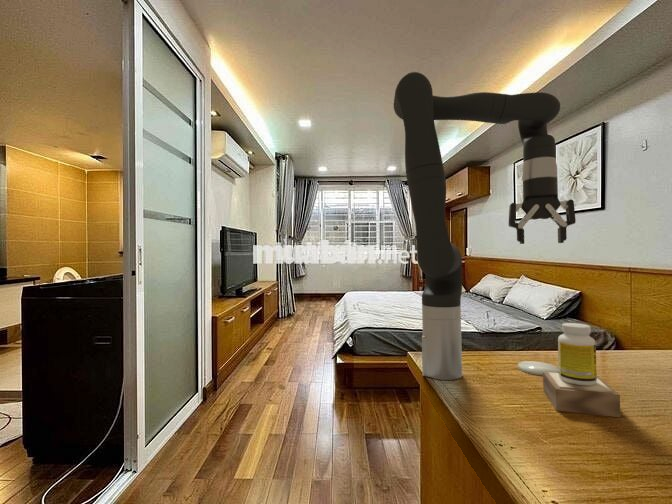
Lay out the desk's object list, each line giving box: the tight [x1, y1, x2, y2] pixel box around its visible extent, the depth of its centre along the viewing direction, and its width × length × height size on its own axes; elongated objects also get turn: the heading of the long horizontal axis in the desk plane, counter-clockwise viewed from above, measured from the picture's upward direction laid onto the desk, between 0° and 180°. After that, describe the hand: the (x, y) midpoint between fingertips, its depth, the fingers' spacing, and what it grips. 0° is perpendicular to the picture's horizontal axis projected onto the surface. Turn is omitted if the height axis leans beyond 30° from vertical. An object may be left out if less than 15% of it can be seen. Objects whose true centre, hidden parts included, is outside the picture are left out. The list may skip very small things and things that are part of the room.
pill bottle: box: [557, 322, 597, 386], centre depth 69 cm, size 6×6×11 cm
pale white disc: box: [517, 360, 559, 377], centre depth 89 cm, size 9×9×1 cm
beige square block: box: [542, 372, 621, 418], centre depth 69 cm, size 10×10×4 cm
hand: (541, 243), depth 87 cm, fingers open, 8 cm apart
